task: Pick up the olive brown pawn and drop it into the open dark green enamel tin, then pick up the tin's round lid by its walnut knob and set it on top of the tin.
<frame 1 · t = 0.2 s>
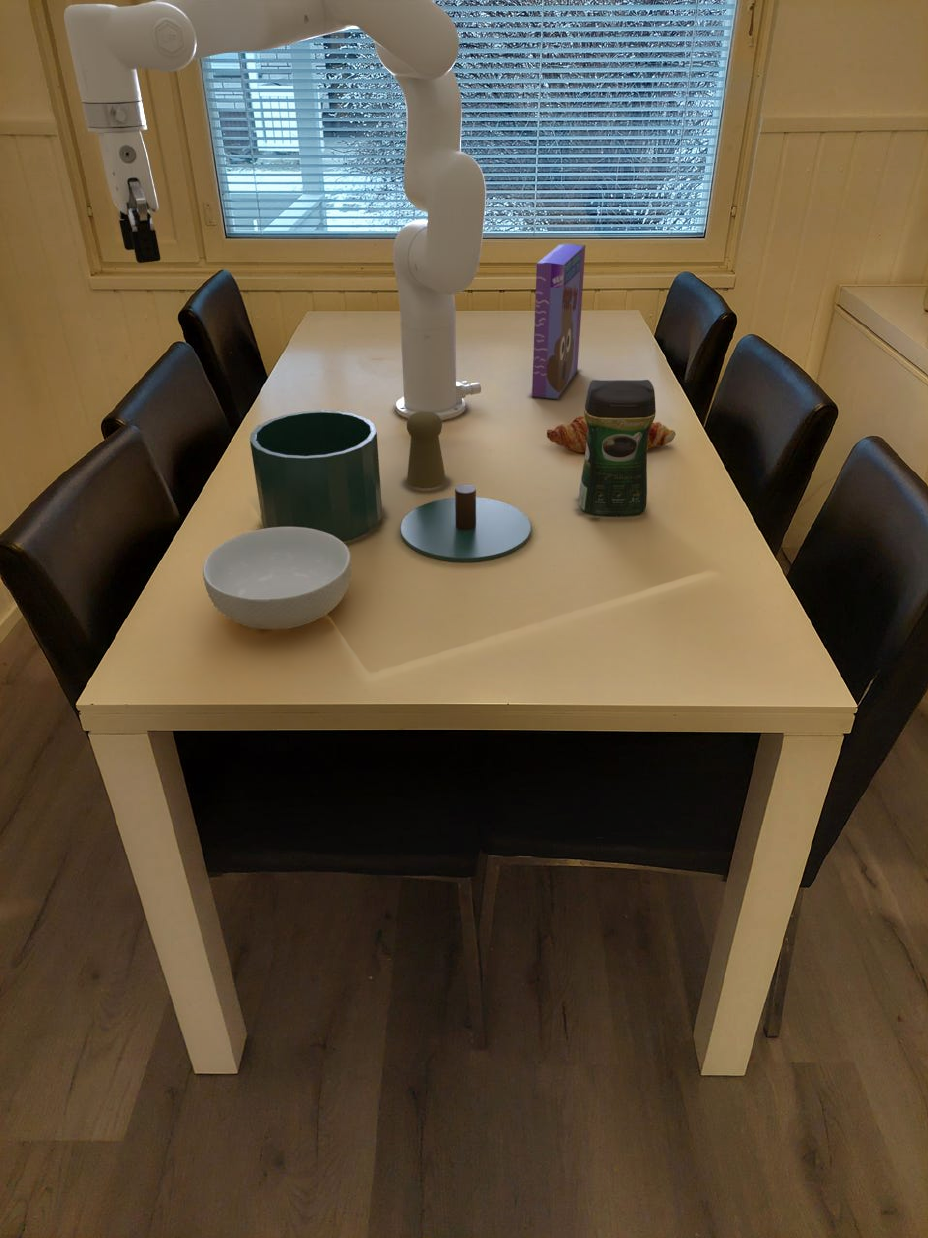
hand: (142, 254, 126), 31 cm above the table, tool pointing down, fingers open, 9 cm apart
cereal bowl: (284, 611, 105), on the table
olive brown pawn: (426, 484, 134), on the table
tin lid: (465, 529, 120), point 1 cm above the table
croissant: (610, 448, 145), on the table
tin: (323, 519, 124), on the table
coffee jar: (610, 508, 127), on the table
cereal box: (555, 384, 171), on the table
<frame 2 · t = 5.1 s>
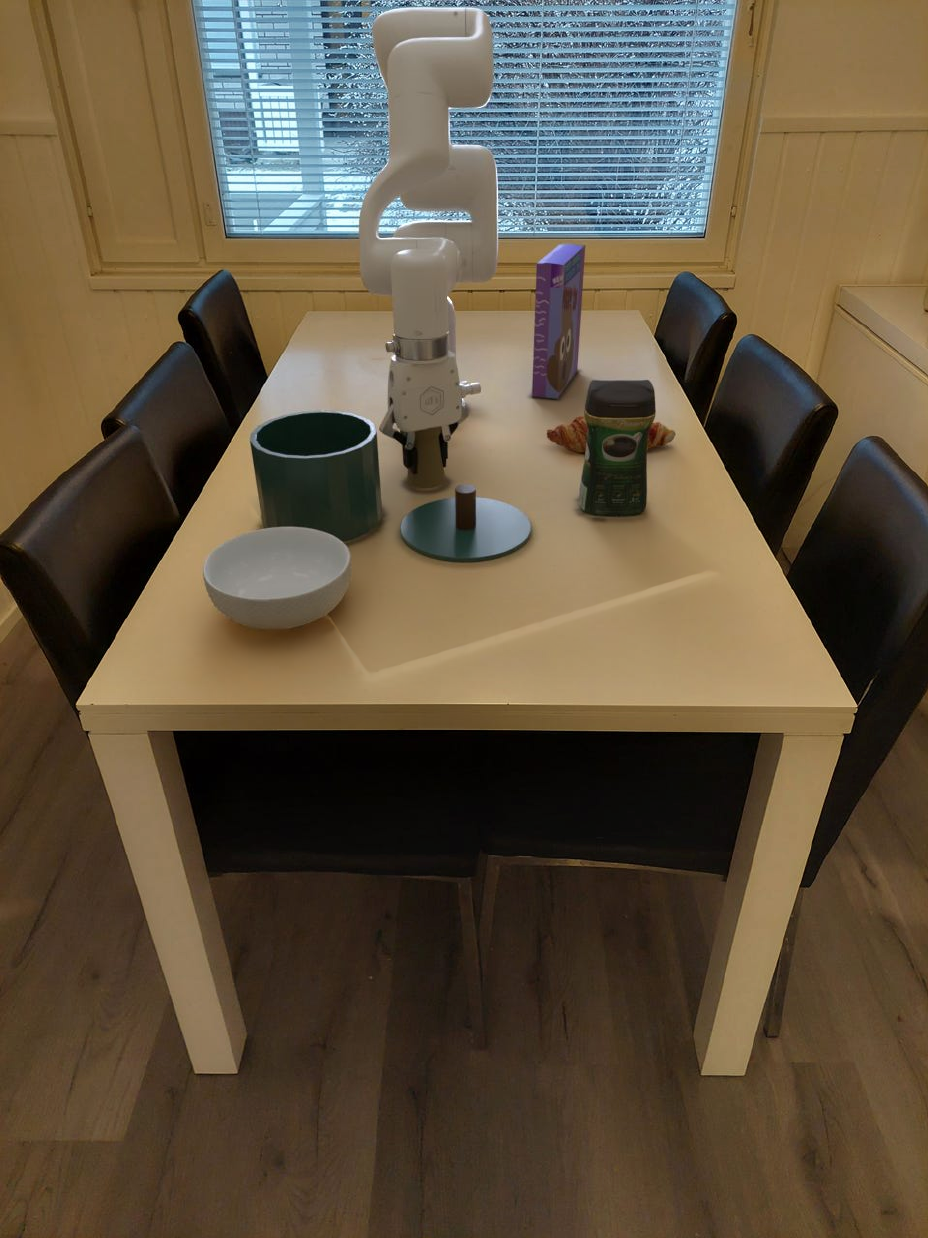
hand: (425, 466, 133), 3 cm above the table, tool pointing down, fingers closed on olive brown pawn, 4 cm apart
olive brown pawn: (426, 484, 134), on the table, touching gripper
everything else where it was.
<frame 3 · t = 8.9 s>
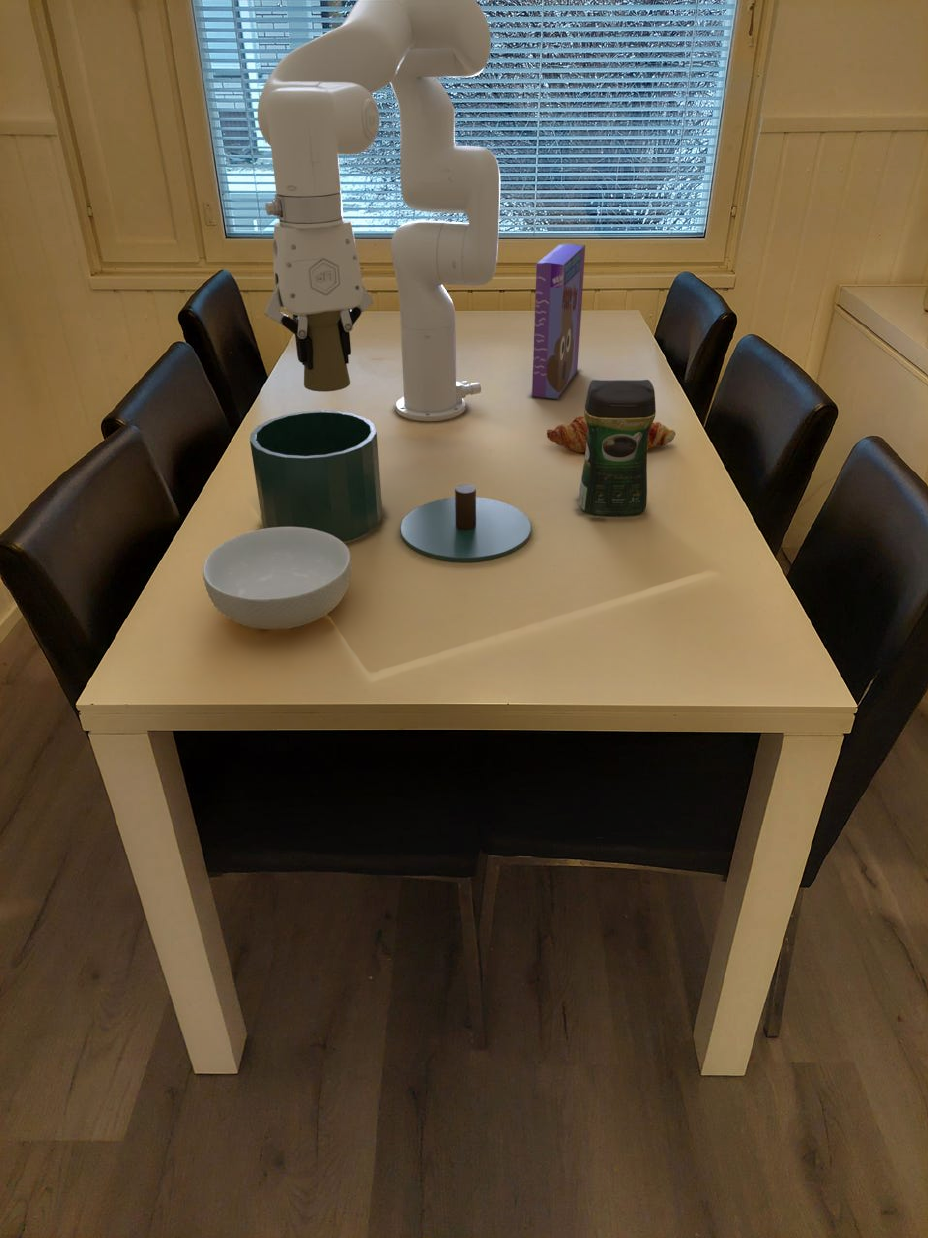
hand: (325, 362, 114), 22 cm above the table, tool pointing down, fingers closed on olive brown pawn, 4 cm apart
olive brown pawn: (327, 385, 115), point 19 cm above the table, touching gripper
everything else where it was.
when the fingers open (7 cm above the table, at t = 12.6 s): olive brown pawn drops 3 cm, resting on tin.
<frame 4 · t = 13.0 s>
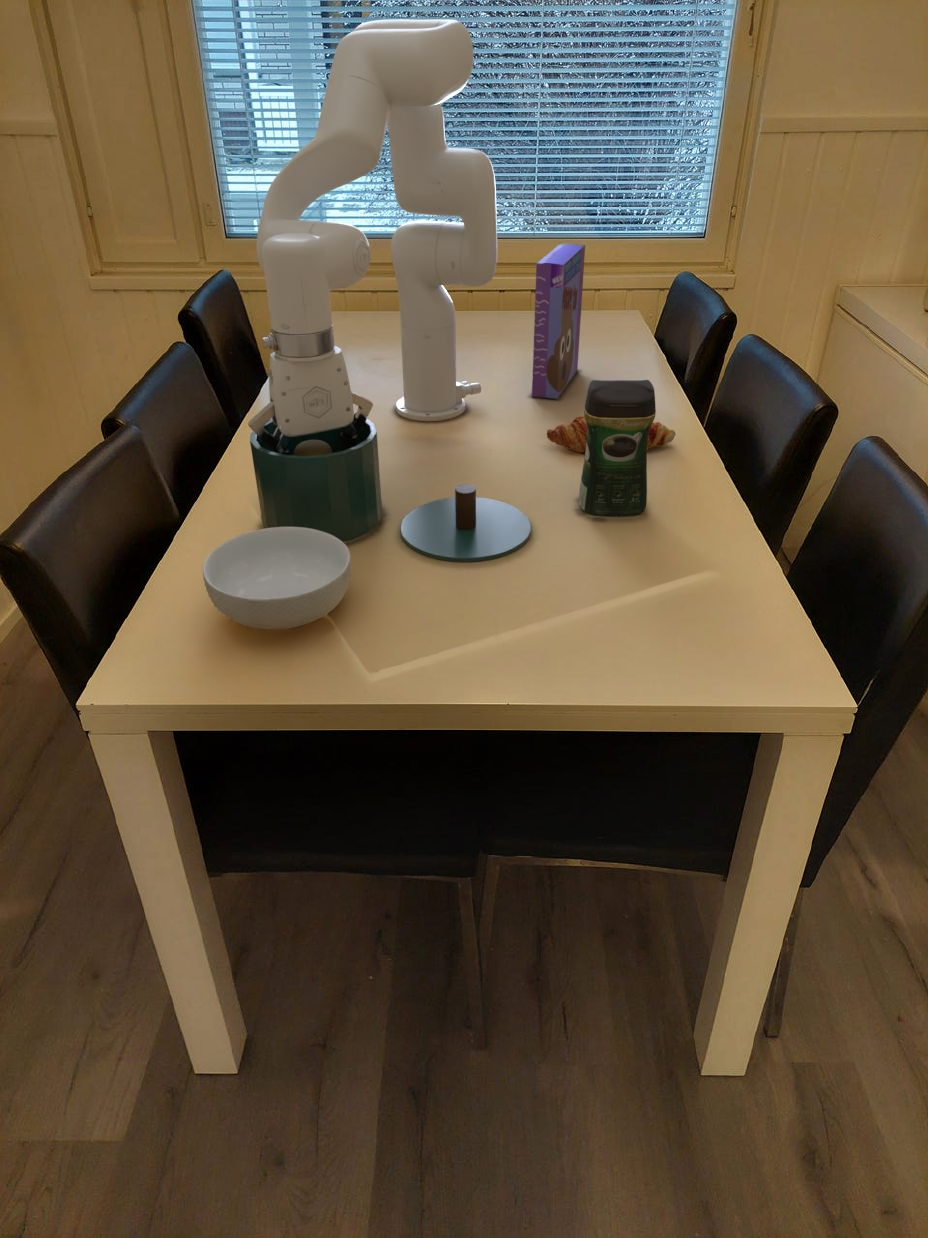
hand: (318, 468, 120), 8 cm above the table, tool pointing down, fingers open, 8 cm apart
olive brown pawn: (320, 517, 124), resting on tin
everything else where it was.
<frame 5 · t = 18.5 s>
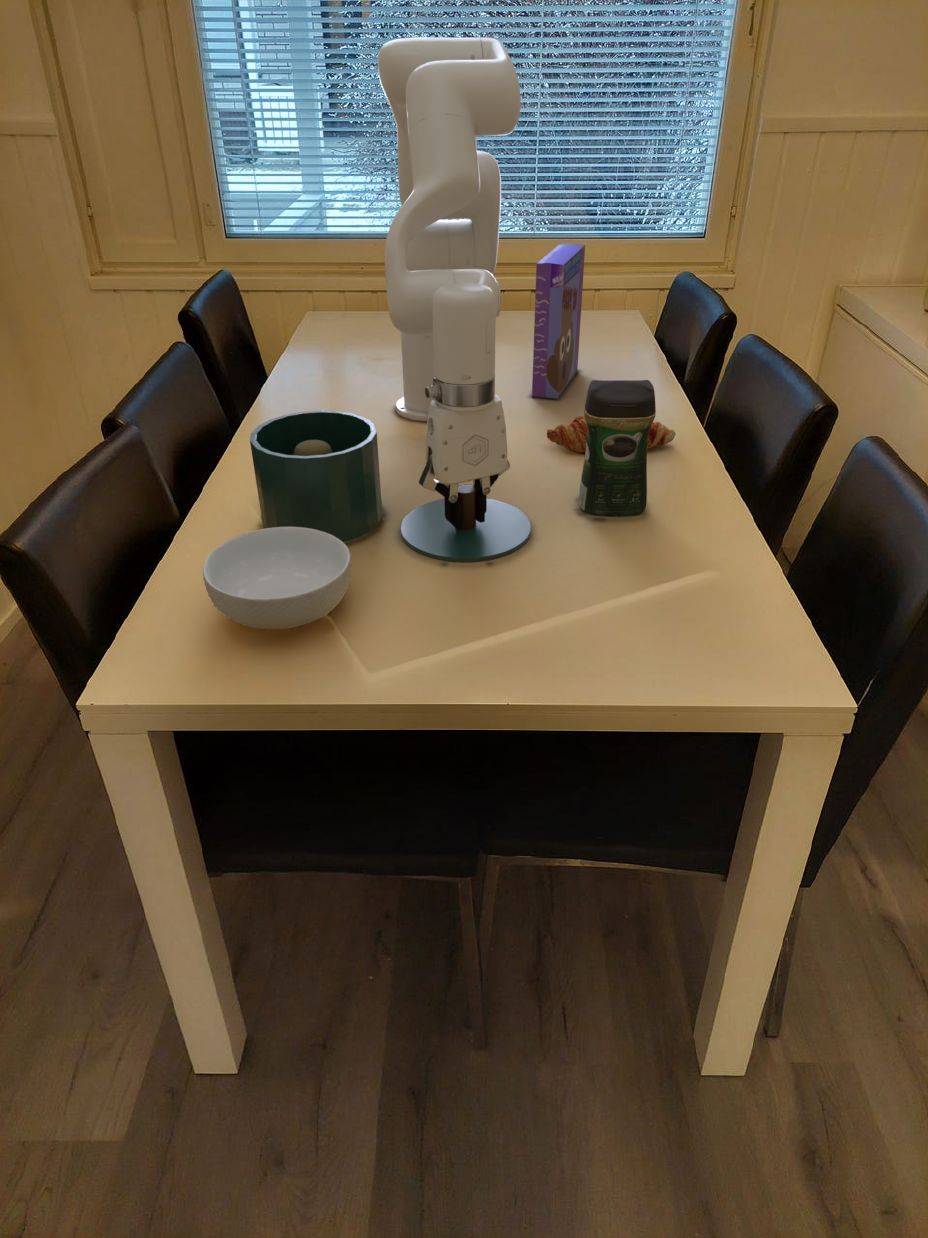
hand: (465, 520, 120), 2 cm above the table, tool pointing down, fingers closed on tin lid, 2 cm apart
tin lid: (465, 529, 120), point 1 cm above the table, touching gripper
everything else where it was.
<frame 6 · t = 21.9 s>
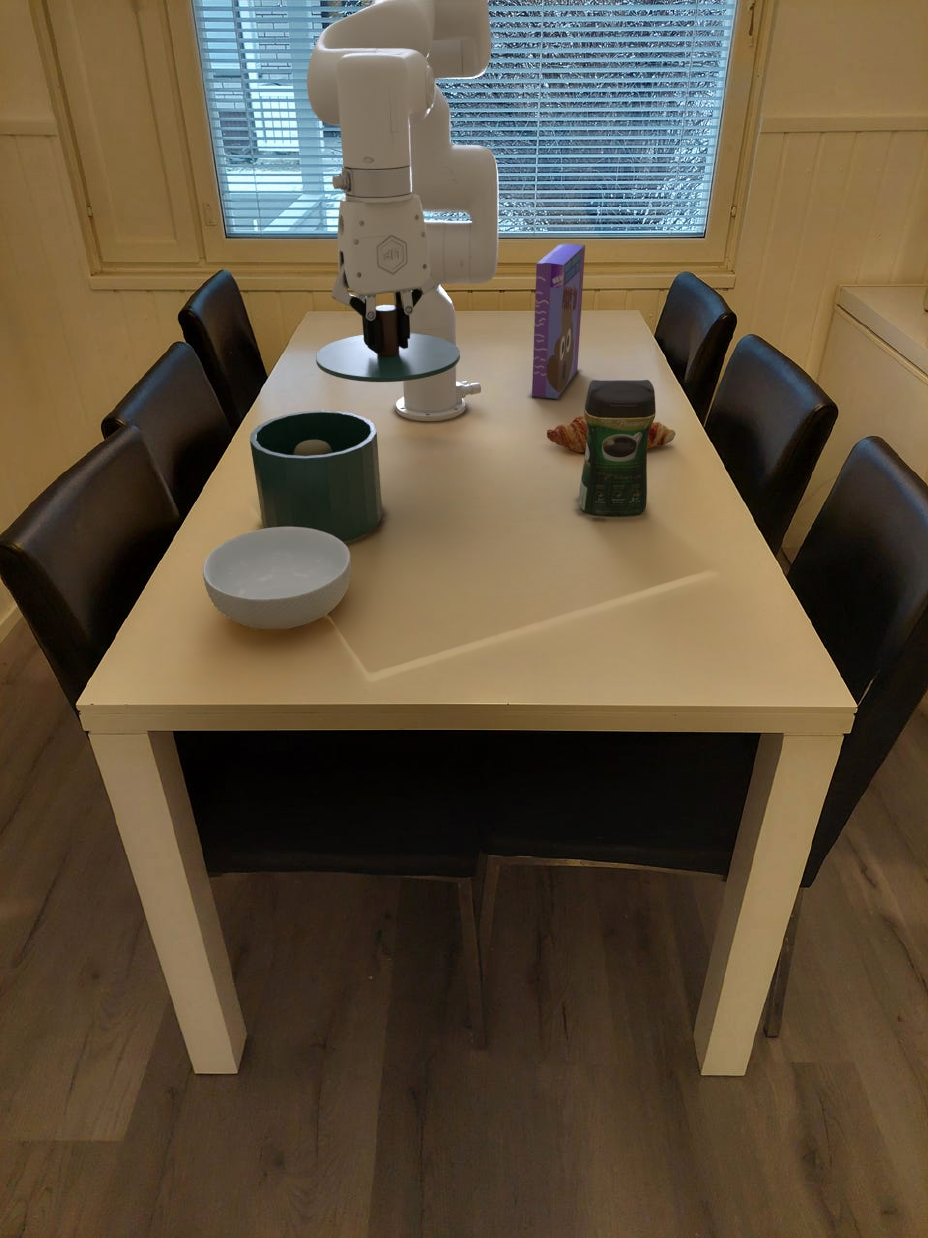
hand: (387, 346, 109), 25 cm above the table, tool pointing down, fingers closed on tin lid, 2 cm apart
tin lid: (388, 358, 109), point 24 cm above the table, touching gripper
everything else where it was.
when the fingers open (16 cm above the table, at t = 25.6 s): tin lid drops 1 cm, resting on tin.
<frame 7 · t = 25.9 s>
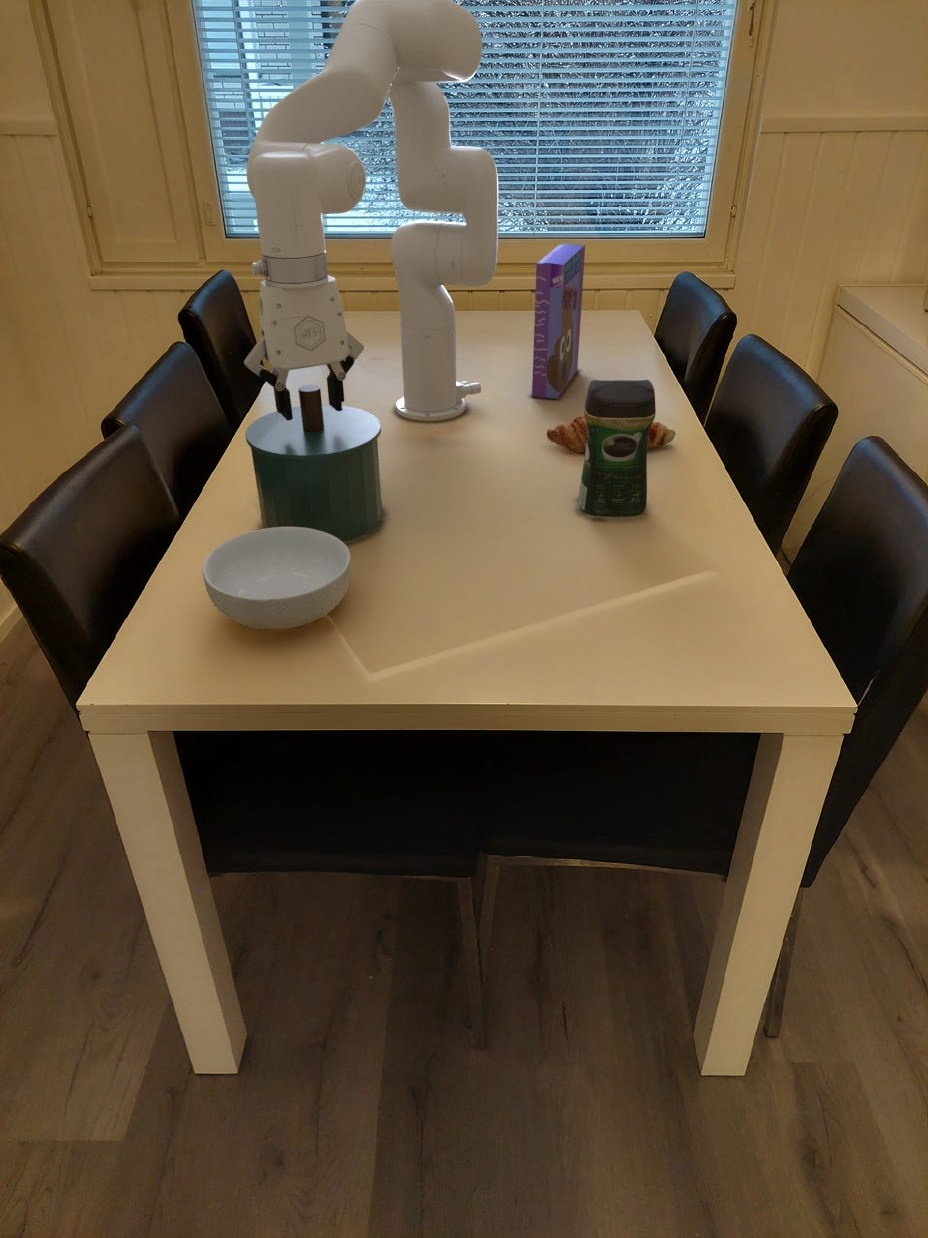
hand: (311, 411, 115), 16 cm above the table, tool pointing down, fingers open, 6 cm apart
tin lid: (314, 432, 117), point 13 cm above the table, touching tin
everything else where it was.
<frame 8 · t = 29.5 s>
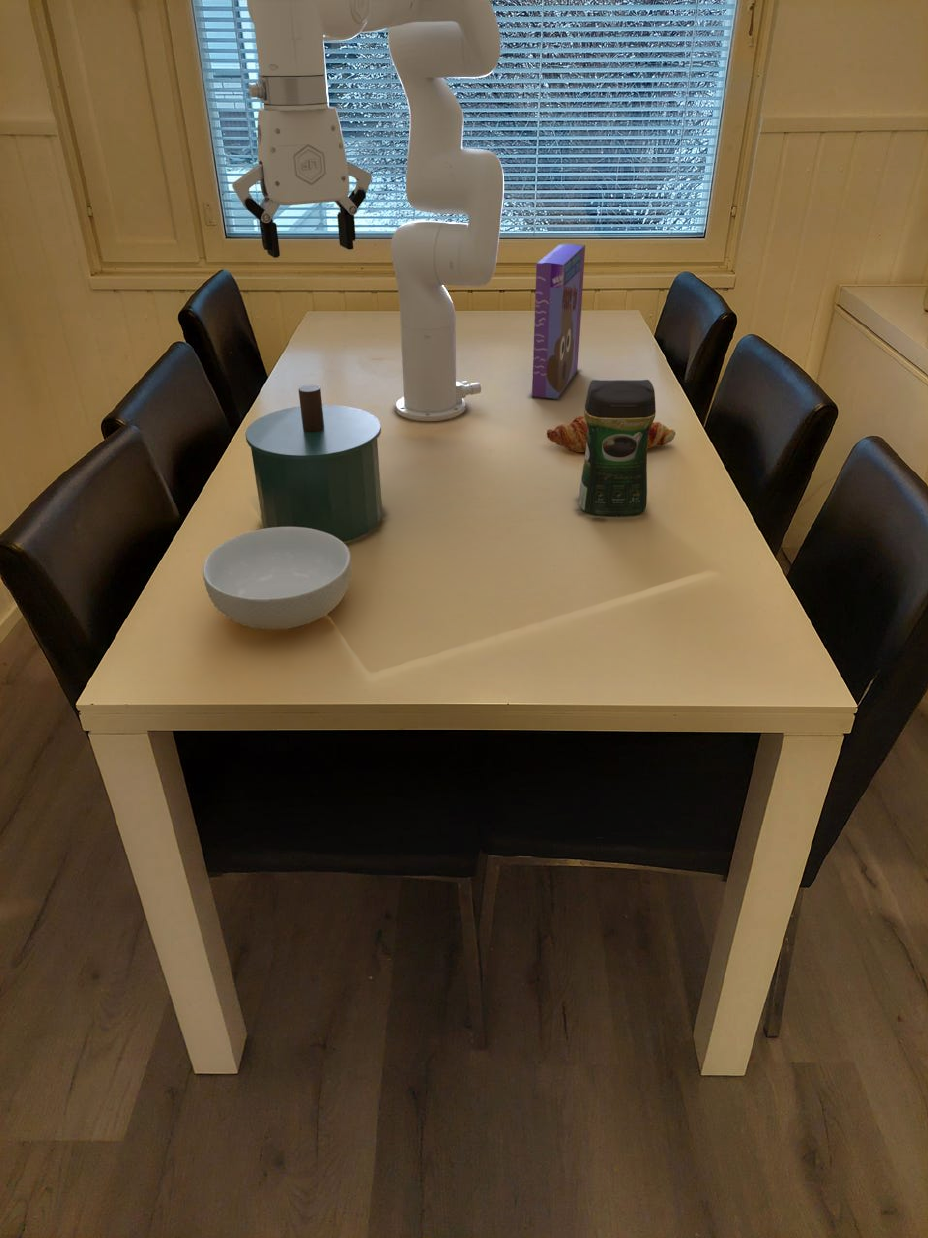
hand: (310, 251, 111), 34 cm above the table, tool pointing down, fingers open, 9 cm apart
nothing on the table moved.
at the end: olive brown pawn inside the target area in the tin (0.4 cm from its centre), point 0.3 cm above the tin's base; tin lid 0.1 cm off-centre on the tin, point 13.0 cm above the tin's base; tin lid tilted 0° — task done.
